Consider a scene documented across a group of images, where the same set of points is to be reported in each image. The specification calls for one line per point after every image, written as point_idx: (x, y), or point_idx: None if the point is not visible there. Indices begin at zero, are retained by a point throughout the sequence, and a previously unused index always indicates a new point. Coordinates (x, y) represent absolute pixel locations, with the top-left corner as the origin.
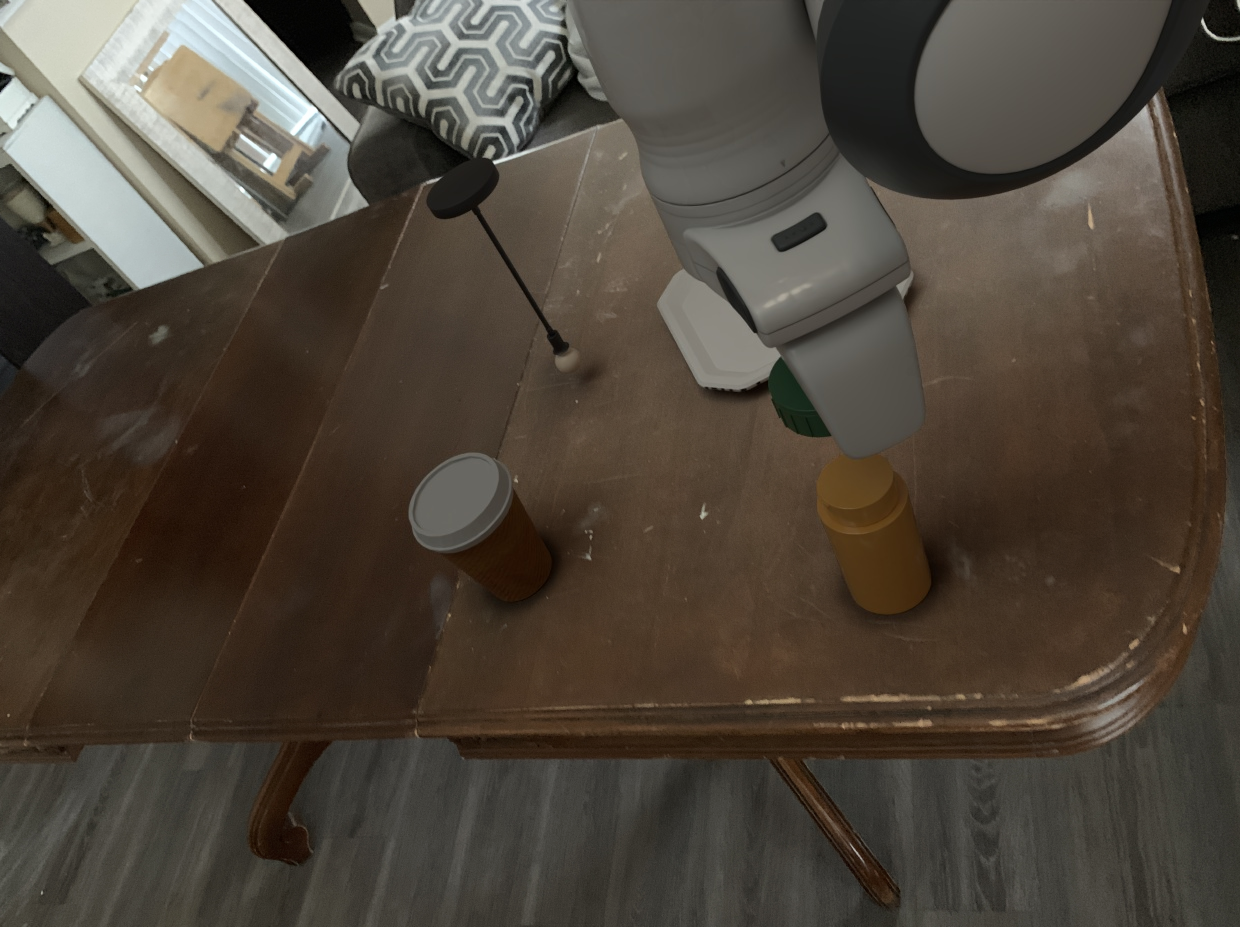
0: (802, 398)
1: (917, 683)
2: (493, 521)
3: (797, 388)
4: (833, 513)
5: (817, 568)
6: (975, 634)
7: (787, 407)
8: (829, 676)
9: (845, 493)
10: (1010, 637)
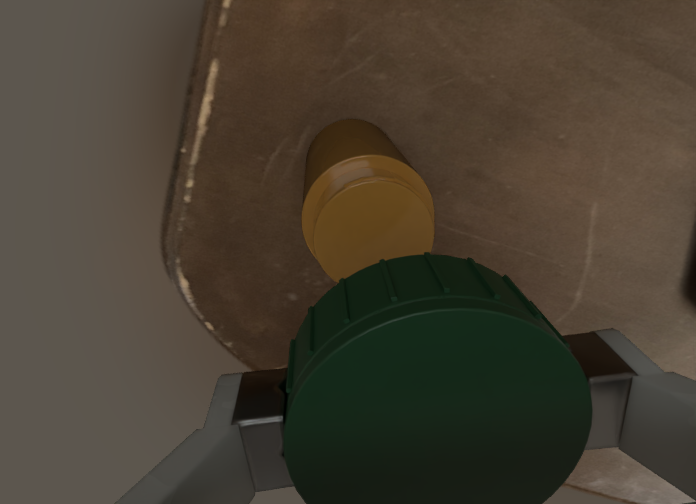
0: (364, 383)
1: (215, 149)
2: None
3: (414, 380)
4: (341, 183)
5: (406, 91)
6: (256, 221)
7: (352, 340)
8: (249, 55)
9: (352, 219)
10: (243, 247)
